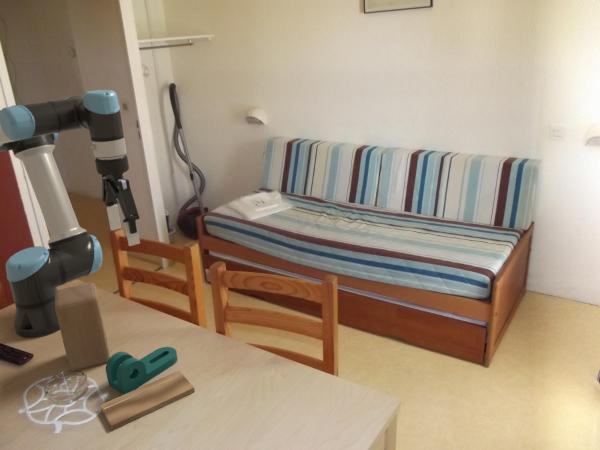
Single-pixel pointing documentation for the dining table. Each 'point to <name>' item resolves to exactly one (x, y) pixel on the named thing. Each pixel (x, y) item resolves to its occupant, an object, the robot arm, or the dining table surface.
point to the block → (81, 326)
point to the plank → (146, 399)
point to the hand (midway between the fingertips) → (124, 236)
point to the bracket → (137, 368)
